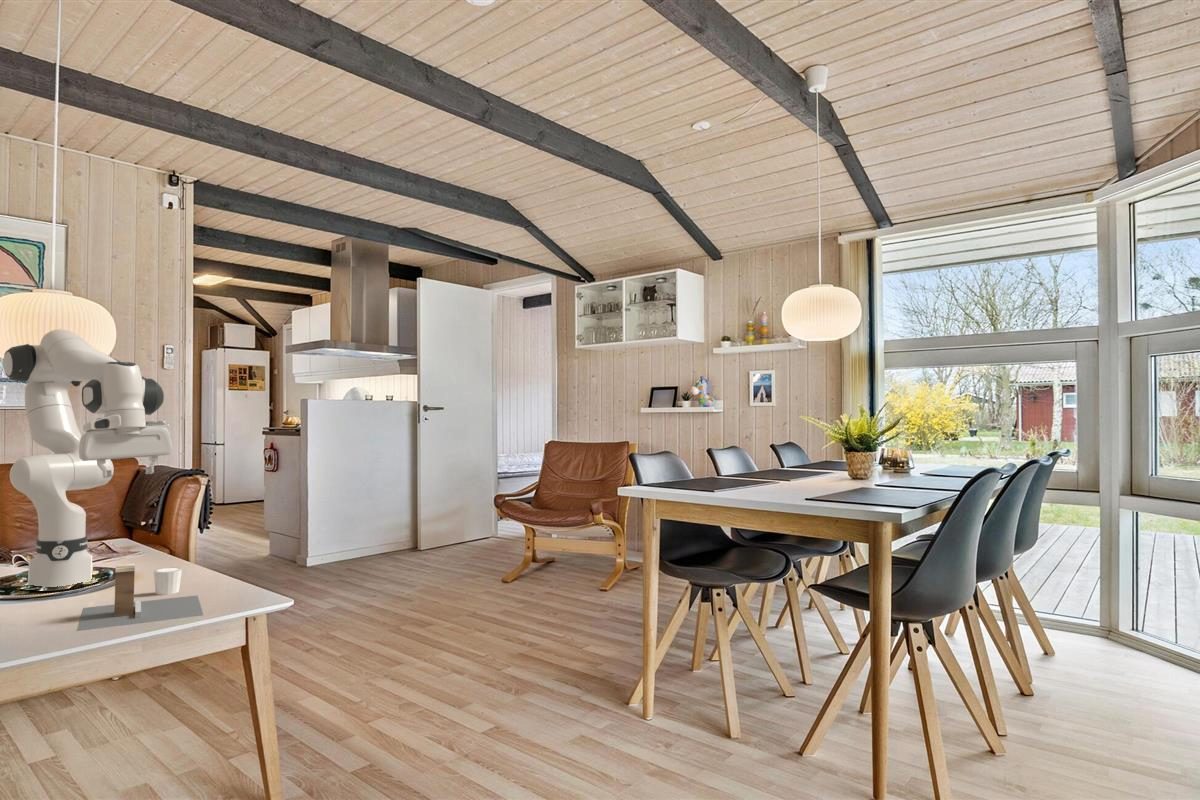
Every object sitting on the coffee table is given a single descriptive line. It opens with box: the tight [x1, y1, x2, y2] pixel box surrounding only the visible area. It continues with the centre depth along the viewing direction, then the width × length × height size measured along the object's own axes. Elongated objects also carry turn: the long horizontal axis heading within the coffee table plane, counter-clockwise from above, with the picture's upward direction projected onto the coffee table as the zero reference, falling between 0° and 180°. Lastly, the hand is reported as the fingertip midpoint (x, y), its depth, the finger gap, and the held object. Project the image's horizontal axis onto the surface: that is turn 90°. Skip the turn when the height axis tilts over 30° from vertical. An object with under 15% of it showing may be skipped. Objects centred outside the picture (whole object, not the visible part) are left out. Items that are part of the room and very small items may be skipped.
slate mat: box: [76, 594, 204, 632], centre depth 183 cm, size 22×26×2 cm
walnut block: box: [114, 563, 136, 617], centre depth 181 cm, size 5×4×12 cm
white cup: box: [153, 567, 183, 596], centre depth 202 cm, size 7×7×7 cm
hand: (129, 475), depth 183 cm, fingers open, 8 cm apart
